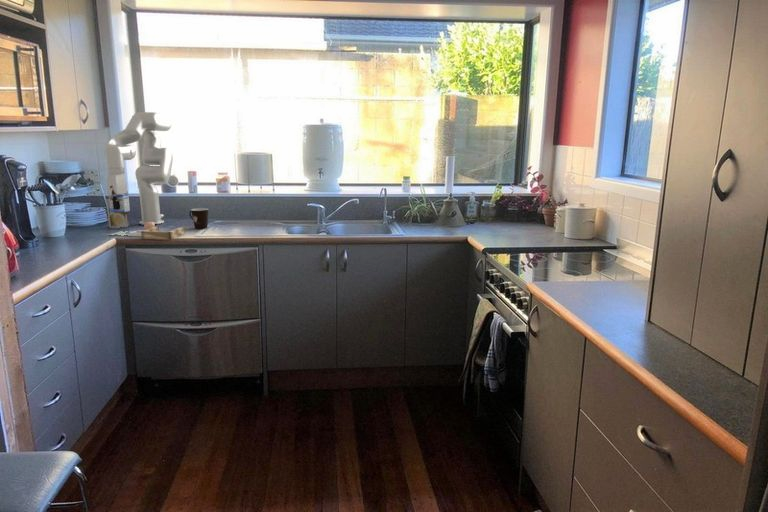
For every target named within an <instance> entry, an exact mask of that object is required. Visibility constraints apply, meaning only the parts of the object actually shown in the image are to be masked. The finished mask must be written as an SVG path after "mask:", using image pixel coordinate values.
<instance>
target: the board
mask: <svg viewBox="0 0 768 512" xmlns="http://www.w3.org/2000/svg"><path fill="white" fill-rule="evenodd" d="M126 232H128V231H125V232H123V230H120V231H117V232H114V233H110V234H109V235H114V234H118V235H121V236H120V237H125V236H124V235H126V234H125V233H126ZM127 235H128V236H129V234H127Z"/></svg>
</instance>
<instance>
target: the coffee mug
mask: <svg viewBox="0 0 768 512" xmlns="http://www.w3.org/2000/svg"><path fill="white" fill-rule="evenodd" d="M188 216H189V217H190V218H191V219H192V221H193V225H194V229H195V230H207V229H208V225H209V223H208V222H209V208H205V207H197V208H192V209H191V210H190V211H189V215H188Z"/></svg>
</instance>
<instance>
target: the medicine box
mask: <svg viewBox="0 0 768 512" xmlns="http://www.w3.org/2000/svg"><path fill="white" fill-rule="evenodd" d="M114 195H116V194H114ZM108 197H109V196H108ZM115 197H116V196H115ZM109 200H110V211H111V212H127V213H128V212H130V211H131V209H130V208H131V207H130V198H129V194H128V193H127V194H120V195H119V197H118V201H119V203H120V209H113V201H112V199H111V198H110V197H109Z"/></svg>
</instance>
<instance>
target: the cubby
mask: <svg viewBox="0 0 768 512" xmlns="http://www.w3.org/2000/svg"><path fill="white" fill-rule="evenodd" d="M141 231H142V232H141V237H140V238H141V239H142V238H143V239H142V240H169V241H170V240H174V239H176V238H178V236H179V237H181V236H184V235H185V227H183V226H181V227H178V228H175V229H173V230H170V231H160V230H159V226H155V227H153V228H150V229H147V230H145V229H143V230H141ZM183 234H184V235H183Z"/></svg>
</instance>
